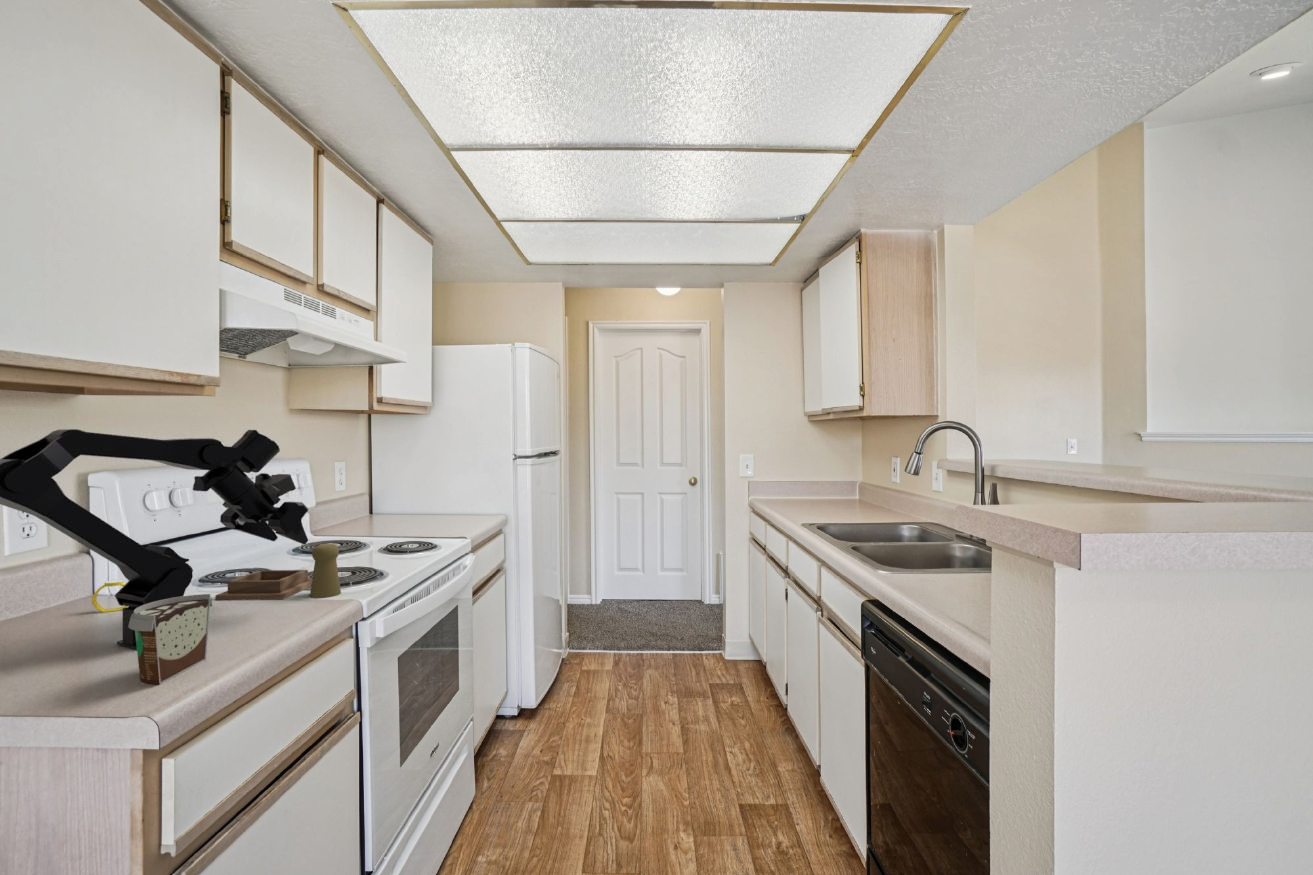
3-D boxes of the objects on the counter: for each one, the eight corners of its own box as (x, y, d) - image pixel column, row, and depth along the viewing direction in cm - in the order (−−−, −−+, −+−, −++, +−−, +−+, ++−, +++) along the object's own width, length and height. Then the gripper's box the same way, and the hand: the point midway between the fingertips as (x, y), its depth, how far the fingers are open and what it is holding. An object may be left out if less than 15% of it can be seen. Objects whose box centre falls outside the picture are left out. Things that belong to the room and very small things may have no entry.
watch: (133, 608, 121) (136, 578, 121) (130, 611, 118) (133, 581, 119) (93, 610, 117) (96, 580, 118) (90, 614, 115) (93, 583, 115)
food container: (171, 657, 93) (171, 593, 93) (212, 656, 93) (212, 592, 93) (103, 690, 80) (103, 617, 80) (151, 689, 81) (151, 616, 81)
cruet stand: (283, 599, 126) (283, 582, 126) (215, 599, 126) (215, 583, 126) (317, 583, 140) (317, 568, 140) (257, 583, 140) (257, 569, 140)
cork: (303, 596, 128) (303, 546, 128) (326, 589, 134) (326, 541, 134) (325, 598, 127) (325, 547, 127) (347, 591, 132) (347, 542, 132)
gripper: (300, 461, 115) (347, 513, 125) (238, 459, 122) (287, 509, 132) (258, 504, 107) (312, 556, 117) (194, 500, 115) (250, 549, 124)
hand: (290, 540), depth 123 cm, fingers open, 9 cm apart
